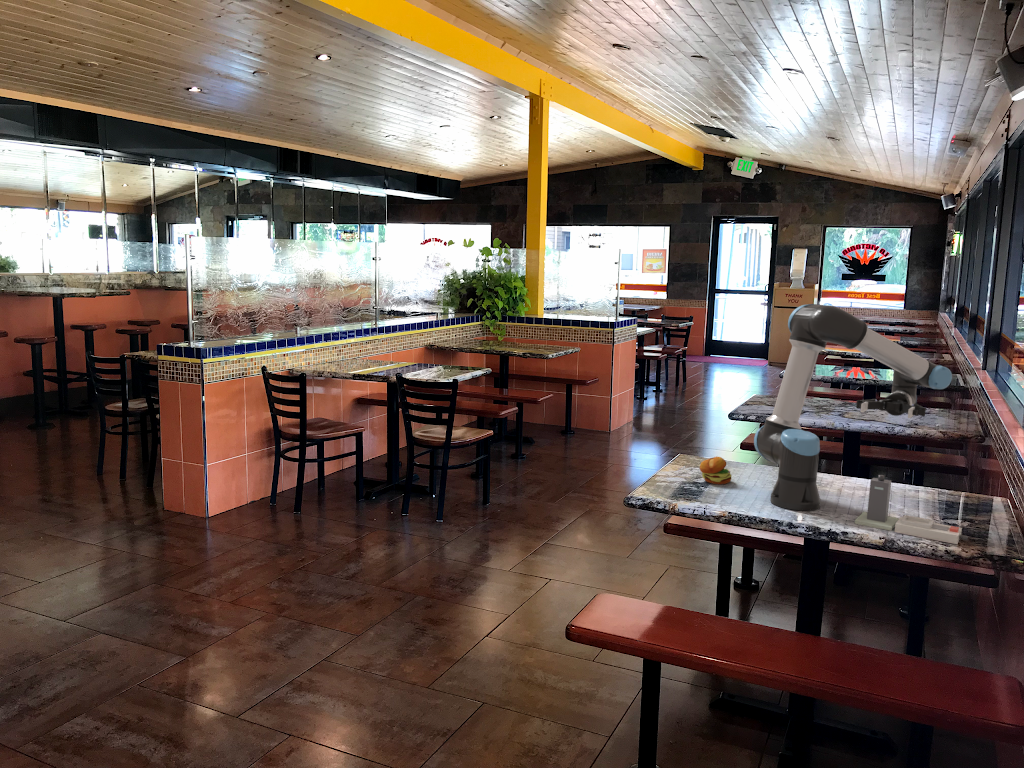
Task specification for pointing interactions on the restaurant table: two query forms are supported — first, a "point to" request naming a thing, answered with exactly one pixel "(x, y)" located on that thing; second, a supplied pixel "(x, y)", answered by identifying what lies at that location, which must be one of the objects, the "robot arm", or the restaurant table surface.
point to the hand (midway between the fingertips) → (885, 410)
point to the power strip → (928, 529)
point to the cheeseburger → (715, 471)
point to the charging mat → (876, 522)
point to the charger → (879, 499)
